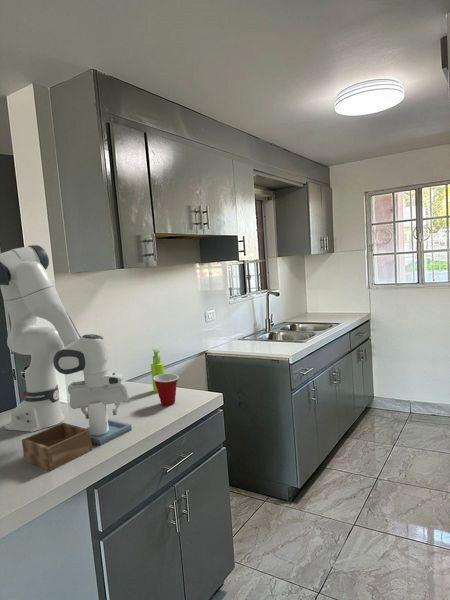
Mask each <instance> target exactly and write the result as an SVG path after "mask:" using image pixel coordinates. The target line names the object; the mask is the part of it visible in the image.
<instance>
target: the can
mask: <svg viewBox="0 0 450 600" xmlns="http://www.w3.org/2000/svg"><path fill="white" fill-rule="evenodd" d="M86 410H87V412H88V417H89V419H88V422H89V423H88V425H89V426H90V433H91V435H93V436H100V435H104V434H106V433H107V432H108V431H109V426H108V419H109V418H108V417H109V416H108V410H107V404H106V405H104V404H103V403H102V401H101V402H97V403H89V406H88V407H86ZM89 426H88V427H89Z"/></svg>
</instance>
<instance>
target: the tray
mask: <svg viewBox="0 0 450 600" xmlns="http://www.w3.org/2000/svg"><path fill="white" fill-rule="evenodd" d="M108 426H109V431H108V432H107V433H106V434H104V435H100V436H93V435H91V433H90V435H91V444H94V445H96V446H103V445H105V444H107V443H109V442H110V441H113V440H114V439H116V438H118V437H120V436H122V435H124V434H126V433H129V432H130V431H132V424H130V423H125V422H122V421H117V420H113V419H109V418H108ZM84 428H85V429H89V430H90V426H88V427H84Z"/></svg>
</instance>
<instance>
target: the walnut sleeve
mask: <svg viewBox="0 0 450 600" xmlns="http://www.w3.org/2000/svg"><path fill="white" fill-rule="evenodd" d="M85 428H86V427H81V426H77V425H73V424H69V423H66V422H60V423H58V424H56V425H54V426H51V427H48V428H46V429H45V430H42V431H40V432H38V433H34V434H33V435H30V436H28V437H25V438H23V439H21V443H22V452H23V459H24V462H27V463H30V464H32V465H35V466H37V467H39V468H41V469H45V470H47V471H49V472H52V471H53V470H56V469H58V468H60V467H62V466H63V465H66V464H68V463H69V462H72V461H73V460H75V459H77V458H79V457H81V456H83V455H85V454H87V453H89V452H92V450H93V445H92V444H93V443H91V435H90V430H89V429H85Z"/></svg>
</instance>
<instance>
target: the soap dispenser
mask: <svg viewBox="0 0 450 600" xmlns="http://www.w3.org/2000/svg"><path fill="white" fill-rule="evenodd" d="M152 351H153V352H154V353H153V354H154V355H153V356H152V362H151V364H150V372H151V380H152V389H153V393H158V391H157V387H156V384H155V381H154V379H153V378H154V376H157V375H160V374H165V368H164V365H165V364H164V362H161V356H160V355H159V353H160V350H159V349H158V348H156V349H152Z"/></svg>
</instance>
